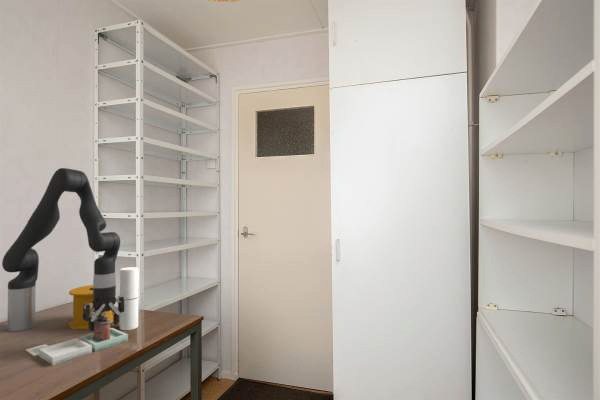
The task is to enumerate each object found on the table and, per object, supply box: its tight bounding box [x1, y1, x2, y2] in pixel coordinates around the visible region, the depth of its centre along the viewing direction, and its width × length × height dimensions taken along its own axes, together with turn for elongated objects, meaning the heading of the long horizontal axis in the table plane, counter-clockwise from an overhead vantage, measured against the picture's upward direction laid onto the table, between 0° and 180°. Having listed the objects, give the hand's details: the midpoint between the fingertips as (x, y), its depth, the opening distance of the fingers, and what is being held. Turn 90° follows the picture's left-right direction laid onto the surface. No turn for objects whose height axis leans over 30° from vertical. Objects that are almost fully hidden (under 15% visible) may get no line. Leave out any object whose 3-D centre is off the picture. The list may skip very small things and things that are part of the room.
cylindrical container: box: [119, 266, 140, 331], centre depth 148 cm, size 7×7×25 cm
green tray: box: [79, 327, 129, 352], centre depth 132 cm, size 12×12×2 cm
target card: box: [25, 343, 49, 357], centre depth 125 cm, size 8×6×1 cm
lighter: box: [93, 313, 112, 342], centre depth 132 cm, size 8×3×10 cm, turn 63°
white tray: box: [38, 337, 93, 366], centre depth 122 cm, size 12×12×2 cm
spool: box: [68, 284, 113, 330], centre depth 154 cm, size 18×18×15 cm
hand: (104, 327), depth 132 cm, fingers open, 8 cm apart
